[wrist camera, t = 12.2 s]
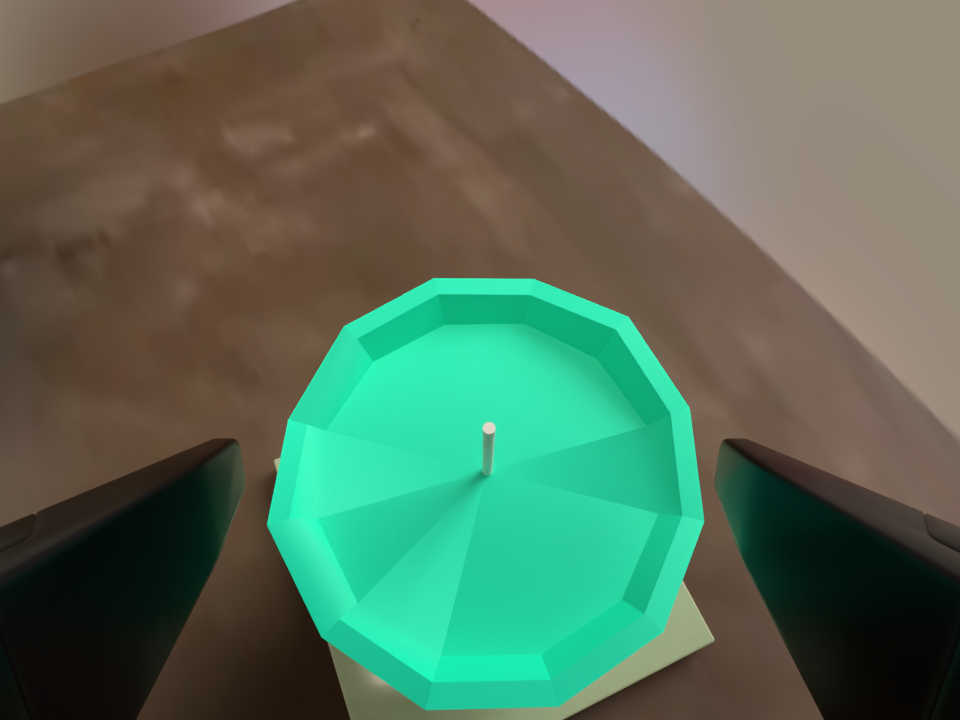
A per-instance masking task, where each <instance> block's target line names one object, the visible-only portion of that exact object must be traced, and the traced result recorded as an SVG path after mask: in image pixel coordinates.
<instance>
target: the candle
mask: <svg viewBox="0 0 960 720" xmlns="http://www.w3.org/2000/svg"><path fill="white" fill-rule="evenodd" d="M703 523H704V515H703V508H702V500H701V492H700V484H699V477H698V469H697V461H696V453H695V445H694V438H693V430H692V422H691V414H690V408H689V406H688V405H687V403H686V402H685V400H684V399H683V397H682V396H681V394H680V393H679V391H678V390H677V388H676V387H675V385H674V384H673V382H672V381H671V379H670V378H669V376H668V375H667V374H666V372H665V371H664V369H663V368H662V366H661V365H660V363H659V362H658V360H657V359H656V357H655V356H654V354H653V353H652V351H651V350H650V348H649V347H648V345H647V344H646V342H645V341H644V339H643V338H642V336H641V335H640V333H639V332H638V330H637V329H636V327H635V326H634V324H633V323H632V321H631V320H630V318H629V317H628V316H625V315H623V314H620V313H618V312H615V311H613V310H610V309H608V308H605V307H603V306H600V305H598V304H595V303H593V302H590V301H588V300H585V299H583V298H580V297H578V296H575V295H573V294H570V293H568V292H565V291H563V290H560V289H558V288H555V287H553V286H550V285H548V284H545V283H543V282H540V281H538V280H535V279H465V278H433V279H432V280H430V281H428V282H426V283H424V284H422V285H420V286H418V287H417V288H415V289H413V290H411V291H409V292H407V293H405V294H404V295H402V296H400V297H398V298H396V299H394V300H392V301H391V302H389V303H387V304H385V305H383V306H381V307H379V308H377V309H376V310H374V311H372V312H370V313H368V314H366V315H364V316H363V317H361V318H359V319H357V320H355V321H353V322H351V323H350V324H348V325H346V326H344V327H343V329H342V330H341V332H340V334H339V336H338V337H337V339H336V341H335V342H334V344H333V346H332V347H331V349H330V351H329V352H328V354H327V356H326V357H325V359H324V361H323V362H322V364H321V366H320V367H319V369H318V371H317V372H316V374H315V376H314V378H313V379H312V381H311V383H310V384H309V386H308V388H307V389H306V391H305V393H304V394H303V396H302V398H301V399H300V401H299V403H298V404H297V406H296V408H295V409H294V411H293V413H292V414H291V416H290V418H289V419H288V424H287V429H286V434H285V439H284V443H283V448H282V453H281V458H280V463H279V468H278V473H277V478H276V483H275V488H274V493H273V498H272V502H271V507H270V512H269V517H268V522H267V526H268V528H269V530H270V532H271V535H272V537H273V539H274V541H275V543H276V545H277V547H278V549H279V551H280V553H281V555H282V557H283V559H284V561H285V563H286V565H287V567H288V569H289V572H290V574H291V576H292V578H293V580H294V582H295V584H296V586H297V588H298V590H299V592H300V594H301V596H302V598H303V600H304V602H305V604H306V606H307V609H308V611H309V613H310V615H311V617H312V619H313V621H314V623H315V625H316V627H317V629H318V631H319V633H320V635H321V637H322V638H323V639H325V640H326V641H327V642H329V643H330V644H332V645H333V646H334V647H336V648H337V649H339V650H340V651H342V652H343V653H344V654H346V655H347V656H349V657H350V658H352V659H353V660H354V661H356V662H357V663H359V664H360V665H362V666H363V667H364V668H366V669H367V670H369V671H370V672H372V673H373V674H374V675H376V676H377V677H379V678H380V679H381V680H383V681H384V682H386V683H387V684H389V685H390V686H391V687H393V688H394V689H396V690H397V691H399V692H400V693H401V694H403V695H404V696H406V697H407V698H409V699H410V700H411V701H413V702H414V703H416V704H417V705H418V706H420V707H421V708H423V709H424V710H456V709H496V708H537V707H559V706H561V705H562V704H564V703H565V702H566V701H568V700H569V699H571V698H572V697H573V696H575V695H576V694H578V693H579V692H580V691H582V690H583V689H585V688H586V687H587V686H589V685H590V684H592V683H593V682H594V681H596V680H597V679H599V678H600V677H601V676H603V675H604V674H606V673H607V672H608V671H610V670H611V669H613V668H614V667H615V666H617V665H618V664H620V663H621V662H622V661H624V660H625V659H627V658H628V657H629V656H631V655H632V654H634V653H635V652H636V651H638V650H639V649H641V648H642V647H643V646H645V645H646V644H648V643H649V642H650V641H652V640H653V639H655V638H656V637H657V636H659V635H660V634H662V633H663V632H664V629H665V626H666V624H667V621H668V618H669V616H670V613H671V610H672V607H673V605H674V602H675V599H676V597H677V594H678V591H679V588H680V586H681V583H682V580H683V578H684V575H685V572H686V569H687V567H688V564H689V561H690V559H691V556H692V553H693V550H694V548H695V545H696V542H697V540H698V537H699V534H700V531H701V529H702V526H703Z"/></svg>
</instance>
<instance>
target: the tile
mask: <svg viewBox="0 0 960 720" xmlns="http://www.w3.org/2000/svg"><path fill="white" fill-rule="evenodd" d="M280 458H281V457H280ZM280 458H278V459H276V460H274V466H275V469H276V472H277V473H278V468H279V463H280ZM713 642H714V637H713V635H712V634H711V632H710V630H709V628H708V626H707V624H706V622H705V621H704V619H703V617H702V615H701V613H700V611H699V610H698V608H697V606H696V604H695V602H694V600H693V598H692V597H691V595H690V593H689V591H688V589H687V587H686V585H685V584H684V582H683V580H682V583H681V586H680V588H679V591H678V594H677V597H676V599H675V602H674V605H673V607H672V610H671V613H670V616H669V618H668V621H667V624H666V626H665V629H664V632H663V633H662V634H660V635H659V636H657V637H656V638H655V639H653V640H652V641H650V642H649V643H648V644H646V645H645V646H643V647H642V648H641V649H639V650H638V651H636V652H635V653H634V654H632V655H631V656H629V657H628V658H627V659H625V660H624V661H622V662H621V663H620V664H618V665H617V666H615V667H614V668H613V669H611V670H610V671H608V672H607V673H606V674H604V675H603V676H601V677H600V678H599V679H597V680H596V681H594V682H593V683H592V684H590V685H589V686H587V687H586V688H585V689H583V690H582V691H580V692H579V693H578V694H576V695H575V696H573V697H572V698H571V699H569V700H568V701H566V702H565V703H564V704H562V705H561V706H559V707H537V708H496V709H456V710H424V709H423V708H421V707H420V706H418V705H417V704H416V703H414V702H413V701H411V700H410V699H409V698H407V697H406V696H404V695H403V694H401V693H400V692H399V691H397V690H396V689H394V688H393V687H391V686H390V685H389V684H387V683H386V682H384V681H383V680H381V679H380V678H379V677H377V676H376V675H374V674H373V673H372V672H370V671H369V670H367V669H366V668H364V667H363V666H362V665H360V664H359V663H357V662H356V661H354V660H353V659H352V658H350V657H349V656H347V655H346V654H344V653H343V652H342V651H340V650H339V649H337V648H336V647H334V646H333V645H332V644H330V643H329V642H327V643H328V646H329V650H330V653H331V656H332V660H333V663H334V666H335V670H336V673H337V676H338V680H339V683H340V686H341V690H342V693H343V697H344V700H345V703H346V707H347V710H348V713H349V717H350V720H565V719H567V718H568V717H570V716H572V715H574V714H576V713H578V712H580V711H582V710H584V709H586V708H588V707H590V706H592V705H594V704H595V703H597V702H599V701H601V700H603V699H605V698H607V697H609V696H611V695H613V694H615V693H617V692H619V691H621V690H622V689H624V688H626V687H628V686H630V685H632V684H634V683H636V682H638V681H640V680H642V679H644V678H646V677H648V676H649V675H651V674H653V673H655V672H657V671H659V670H661V669H663V668H665V667H667V666H669V665H671V664H673V663H675V662H677V661H678V660H680V659H682V658H684V657H686V656H688V655H690V654H692V653H694V652H696V651H698V650H700V649H702V648H704V647H705V646H707V645H709V644H711V643H713Z"/></svg>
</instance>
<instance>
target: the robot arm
mask: <svg viewBox="0 0 960 720" xmlns="http://www.w3.org/2000/svg"><path fill="white" fill-rule="evenodd" d="M244 488H245V474H244V468H243V462H242V455H241V449H240V445H239V443H238V441H237V440H235V439H212V440H210V441H207V442H205V443H202V444H200V445H198V446H195V447H193V448H190V449H188V450H186V451H183V452H181V453H178V454H176V455H174V456H171V457H169V458H166V459H164V460H161V461H159V462H157V463H154V464H152V465H149V466H147V467H145V468H142V469H140V470H137V471H135V472H133V473H130V474H128V475H125V476H123V477H120V478H118V479H116V480H113V481H111V482H108V483H106V484H104V485H101V486H99V487H96V488H94V489H91V490H89V491H87V492H84V493H82V494H79V495H77V496H75V497H72V498H70V499H67V500H65V501H63V502H60V503H58V504H55V505H53V506H50V507H48V508H46V509H43V510H41V511H38V512H37V514H36V515H35V514H31V515H28V516H26V517H24V518H21V519H19V520H16V521H14V522H12V523H9V524H7V525H4V526H2V527H0V720H136V719H137V717H138V715H139V713H140V711H141V709H142V707H143V705H144V703H145V701H146V699H147V697H148V695H149V693H150V691H151V689H152V687H153V685H154V684H155V682H156V680H157V678H158V676H159V674H160V672H161V670H162V668H163V666H164V664H165V662H166V660H167V658H168V656H169V654H170V652H171V650H172V648H173V646H174V645H175V643H176V641H177V639H178V637H179V635H180V633H181V631H182V629H183V627H184V625H185V623H186V621H187V619H188V617H189V615H190V613H191V611H192V609H193V607H194V606H195V604H196V602H197V600H198V598H199V596H200V594H201V592H202V590H203V588H204V586H205V584H206V582H207V580H208V578H209V576H210V574H211V572H212V570H213V568H214V566H215V564H216V562H217V560H218V558H219V556H220V553H221V551H222V548H223V546H224V543H225V540H226V538H227V535H228V532H229V529H230V527H231V524H232V521H233V519H234V516H235V513H236V511H237V508H238V505H239V502H240V500H241V497H242V494H243V492H244ZM715 488H716V492H717V494H718V497H719V500H720V502H721V505H722V508H723V511H724V513H725V516H726V519H727V521H728V524H729V527H730V529H731V532H732V535H733V538H734V540H735V543H736V546H737V548H738V551H739V553H740V556H741V558H742V560H743V562H744V564H745V566H746V568H747V570H748V572H749V574H750V576H751V578H752V580H753V582H754V584H755V586H756V588H757V590H758V592H759V594H760V596H761V598H762V600H763V602H764V604H765V606H766V607H767V609H768V611H769V613H770V615H771V617H772V619H773V621H774V623H775V625H776V627H777V629H778V631H779V633H780V635H781V637H782V639H783V641H784V643H785V645H786V646H787V648H788V650H789V652H790V654H791V656H792V658H793V660H794V662H795V664H796V666H797V668H798V670H799V672H800V674H801V676H802V678H803V680H804V682H805V684H806V685H807V687H808V689H809V691H810V693H811V695H812V697H813V699H814V701H815V703H816V705H817V707H818V709H819V711H820V713H821V715H822V717H823V719H824V720H960V527H958V526H956V525H953V524H951V523H948V522H946V521H944V520H941V519H939V518H936V517H934V516H932V515H929V514H925V515H924V514H923V512H922V511H919V510H917V509H914V508H912V507H910V506H907V505H905V504H902V503H900V502H897V501H895V500H893V499H890V498H888V497H885V496H883V495H881V494H878V493H876V492H873V491H871V490H869V489H866V488H864V487H861V486H859V485H856V484H854V483H852V482H849V481H847V480H844V479H842V478H840V477H837V476H835V475H832V474H830V473H828V472H825V471H823V470H820V469H818V468H815V467H813V466H811V465H808V464H806V463H803V462H801V461H799V460H796V459H794V458H791V457H789V456H786V455H784V454H782V453H779V452H777V451H774V450H772V449H770V448H767V447H765V446H762V445H760V444H758V443H755V442H753V441H750V440H748V439H725V440H723V441H722V443H721V445H720V449H719V455H718V462H717V468H716V474H715Z"/></svg>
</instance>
